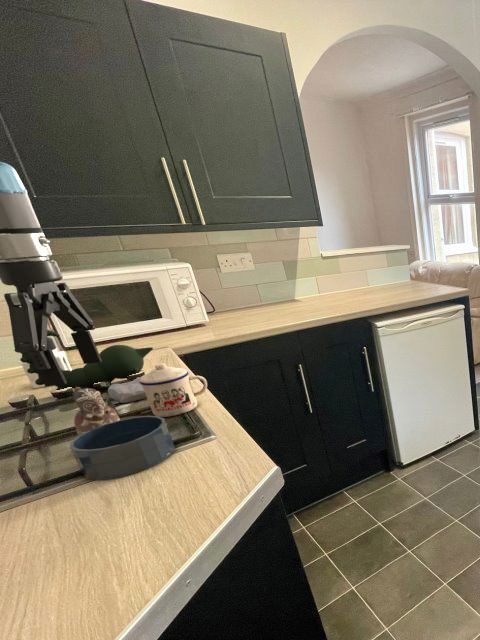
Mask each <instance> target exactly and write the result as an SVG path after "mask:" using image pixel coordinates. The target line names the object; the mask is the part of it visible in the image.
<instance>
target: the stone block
mask: <svg viewBox="0 0 480 640" xmlns="http://www.w3.org/2000/svg"><path fill="white" fill-rule="evenodd" d="M144 375H145V374H143V375H142V376H144ZM142 376H141V377H142ZM141 377H137V378H136V379H134V380H133V381H131V382H130V381H127V382H124V383H113V384H111V386H110V387H108V388H107V394H108V396H109V398H110V399H112V400H114V401H115V402H119V403H120V404H125V403H126V404H128V403H130V402H136V401H139V400H144V399H147V397H146V394H145V391H144V389H143V386H142V384H140V378H141Z"/></svg>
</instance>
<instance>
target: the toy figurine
mask: <svg viewBox="0 0 480 640" xmlns="http://www.w3.org/2000/svg"><path fill="white" fill-rule="evenodd" d="M47 337H55V338H59V337H60V333H58V332H56V331H55V330H49V329H47ZM153 350H154V348H153V347H151V346H150V347H141V348H135V347H132V346H130V345H127V344H126V345H125V344H113V345H110V346H107V347H106V348H104V349H103V350H101V351H100V352H99V355H100V357H101V359H102V362H97V363H89V364H84V365H83V367H76V368H74V369H72V370H71V371H69V370H62V369H61V370H62V373H63V375H64V377H65V379H66V381H67V383H66V384H62V385H55V387H57V388H56V389H55V391H56V390H60V389H64V388H67V387H72V388H73V389H72V390H74V388H76V387H80V388H81V389H86V388H90V389H93V388H95V387H93V384H94V383H98V382H109V383H110V385H112V382H113V381H115V379H117V380H124V379H128V378H127V376H129V375H132V374H136V373H139V372H140V373H141V371H142V370H143V369H144V364H145V360H144V358H145V357H146V356H147V355H149V354H150V353H151V352H152V351H153ZM14 352H15V353H18V354H21V357H20V358H19V360H20V362H21V363H22V362H24V363H29V364H30V365H29V367H30V368H29V369H28V370H27V372H28V373H30V374H33V373H37V374H38V377H39V378H38V379H37V380H36V381H35V383H36V384H37V385H44V382H43V380H42V378H41V376H40V374H39V372H38V370H37V368H36V366H35V364H34V362H33V360H32V358H31V356H30V354H29V353H19V352H17V351H16V350H15V349H14ZM129 382H131V381H129ZM109 387H110V386H109ZM109 387H105V388H102V389H104V390H105V389H109Z"/></svg>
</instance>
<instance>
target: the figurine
mask: <svg viewBox="0 0 480 640" xmlns="http://www.w3.org/2000/svg"><path fill="white" fill-rule="evenodd" d="M73 391H74V396H73V399H74V402H75V403H76V405H77V407H78V409H79V410H78V411H77V412H76V414H75V416H74V419H73V423H74V427H75V431H76V433H77V437H78V436H80V435H81V434H83V433H85V432H87V431H89V430H91V429H94V428H97V427H99V426H102V425H105V424H108V423H111V422H115V421H118V420H121V418H120V417H119V415H118V413H117V411H116V410H115V409H114V408H113V407H111V406H108V405H106V403H105V401H104V399H103V397H102V395H101V392H100V391H99V390H96V389H93V388H92V389H90V388H86V389H81V388H80V387H76V388H74V389H73Z"/></svg>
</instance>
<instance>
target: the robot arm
mask: <svg viewBox="0 0 480 640" xmlns="http://www.w3.org/2000/svg"><path fill="white" fill-rule="evenodd" d="M50 243H51V241H50V239H48V238H46V235H45V234H44V231H43V229H42V226H41V225H40V222H39V220H38V217H37V214H36V212H35V210H34V208H33V206H32V202H31V200H30V196H29V194H28V190H27V188H26V187H25V185H24V184H23V182H22V180H21V178H20V176H19V174H18V173H17V170H16V169H15V168H14V167H13V166H12V165H10V164H8V163H6V162H3V161H0V281H1V283H2V284H3V285H5V286H13V287H15V289H16V292H6V293H3V297H4V300H5V302H6V304H7V307H8V312H9V319H10V327H11V334H12V340H13V347H14V350H16V351H17V352H16V353H18V352H19V353H18V354H21V353H29V354H30V356H31V358H32V360H33V362H34V364H35V366H36V368H37V370H38V372H39V374H40V376H41V378H42V380H43V382H44V384H45V386H46V387H45V388H47V387H54V386H55V385H62V384H66V383H67V381H66V379H65V377H64V375H63V373H62V370H61V368H60V366H59V364H58V362H57V360H56V358H55V356H54V354H53V351H52V349H47V337H48V336H47V330H48V323H49V321H48V319H49V318H50V317H52V315H54V316H55V317H56V318H57V319H58V320H60V321H61V322H62V323H63V324H64V325H65V326H66V327H68V329H70V330H71V331H72V332H71V333H70V336H71V338H72V340H73V342H74V345H75V347H76V349H77V351H78V354H79V356H80V358H81V360H82V362H83V363H82V364H83V365H86V364H89V363H97V362H102V359H101V357H100V355H99V354H100V352H99V350H98V347H97V345H96V343H95V341H94V338H93V336H92V334H91V332H90V331H95V330H96V328H95V325H94V321H93V320H92V319H91V317H90V316H89V315H88V313H87V311H85V309H84V308H83V306H82V305H81V304H80V303H79V301H78V300H77V298H76V297H75V296H74V294H73V293H72V291H71V289H70V288H69V285H68V283H66V282H59V281H62V280H63V274H62V272H61V269H60V267H59V266H58V262H57V261H56V260H54V258H53V259H50V257H52V256H53V252H52V250H51V247H50V245H49V244H50ZM55 387H56V386H55Z"/></svg>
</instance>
